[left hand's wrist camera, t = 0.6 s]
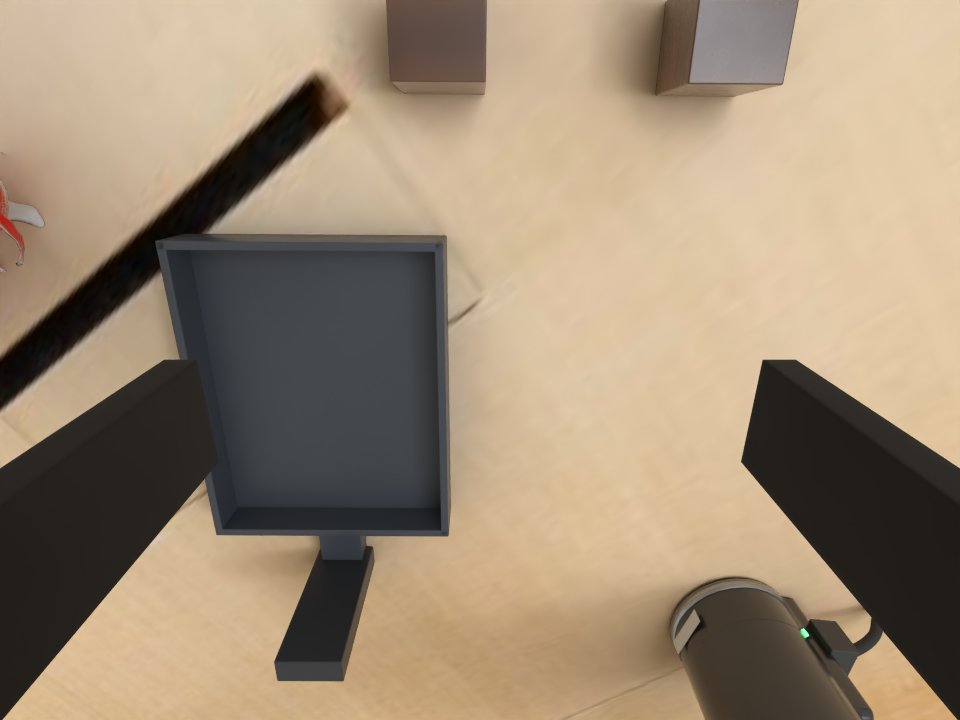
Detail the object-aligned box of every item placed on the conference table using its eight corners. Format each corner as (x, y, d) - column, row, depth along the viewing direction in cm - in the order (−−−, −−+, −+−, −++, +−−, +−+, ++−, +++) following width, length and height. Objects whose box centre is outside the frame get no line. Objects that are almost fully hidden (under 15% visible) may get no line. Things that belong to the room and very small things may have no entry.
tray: (183, 233, 32) (63, 264, 23) (446, 235, 32) (433, 267, 23) (245, 562, 41) (177, 681, 32) (451, 563, 41) (443, 682, 32)
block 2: (665, 1, 28) (703, -31, 23) (750, 1, 28) (805, -30, 23) (654, 95, 30) (687, 83, 25) (735, 96, 30) (783, 84, 25)
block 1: (400, -2, 28) (384, -34, 23) (485, -1, 28) (487, -33, 23) (404, 93, 29) (389, 81, 25) (484, 94, 29) (485, 82, 25)
